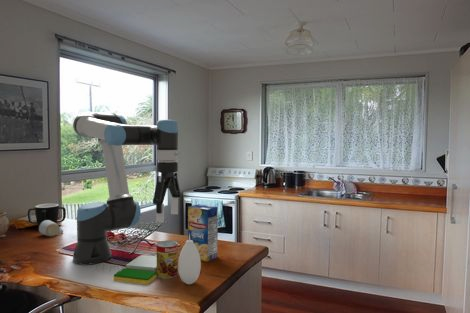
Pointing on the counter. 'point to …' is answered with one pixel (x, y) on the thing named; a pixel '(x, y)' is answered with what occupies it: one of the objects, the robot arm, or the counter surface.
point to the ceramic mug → (49, 228)
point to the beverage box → (204, 230)
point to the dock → (144, 263)
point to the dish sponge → (135, 276)
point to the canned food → (167, 259)
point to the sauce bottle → (189, 263)
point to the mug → (46, 213)
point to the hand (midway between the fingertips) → (167, 217)
